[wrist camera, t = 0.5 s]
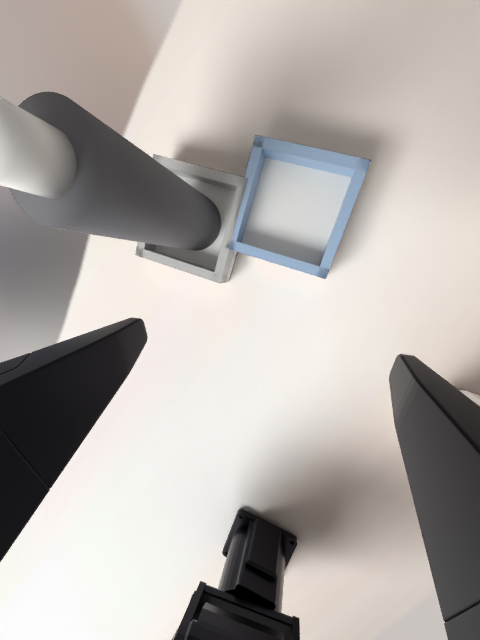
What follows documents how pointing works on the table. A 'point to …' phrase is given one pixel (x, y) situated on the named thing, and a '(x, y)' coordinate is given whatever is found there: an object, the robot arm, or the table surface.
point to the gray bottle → (96, 178)
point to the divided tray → (270, 209)
